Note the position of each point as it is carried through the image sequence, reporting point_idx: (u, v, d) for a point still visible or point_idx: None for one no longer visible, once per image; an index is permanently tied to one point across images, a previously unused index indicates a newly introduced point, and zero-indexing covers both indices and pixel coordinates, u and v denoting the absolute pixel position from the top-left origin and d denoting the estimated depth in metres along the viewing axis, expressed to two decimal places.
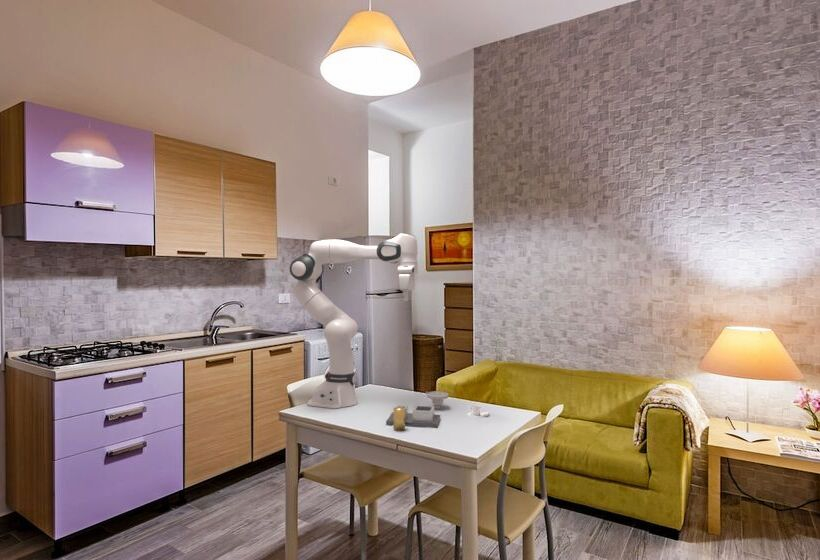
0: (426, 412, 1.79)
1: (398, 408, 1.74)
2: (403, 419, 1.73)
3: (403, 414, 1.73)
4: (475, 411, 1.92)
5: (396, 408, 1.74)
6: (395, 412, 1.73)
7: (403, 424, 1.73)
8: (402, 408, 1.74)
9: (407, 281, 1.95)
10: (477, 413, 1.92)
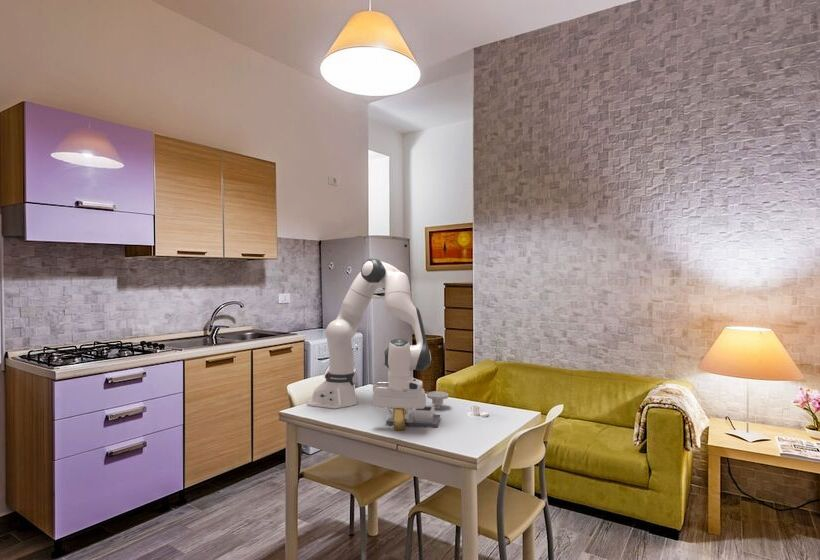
0: (426, 412, 1.79)
1: (398, 408, 1.74)
2: (403, 419, 1.73)
3: (403, 414, 1.73)
4: (475, 411, 1.92)
5: (396, 408, 1.74)
6: (395, 412, 1.73)
7: (403, 424, 1.73)
8: (402, 408, 1.74)
9: (425, 396, 1.74)
10: (477, 413, 1.92)
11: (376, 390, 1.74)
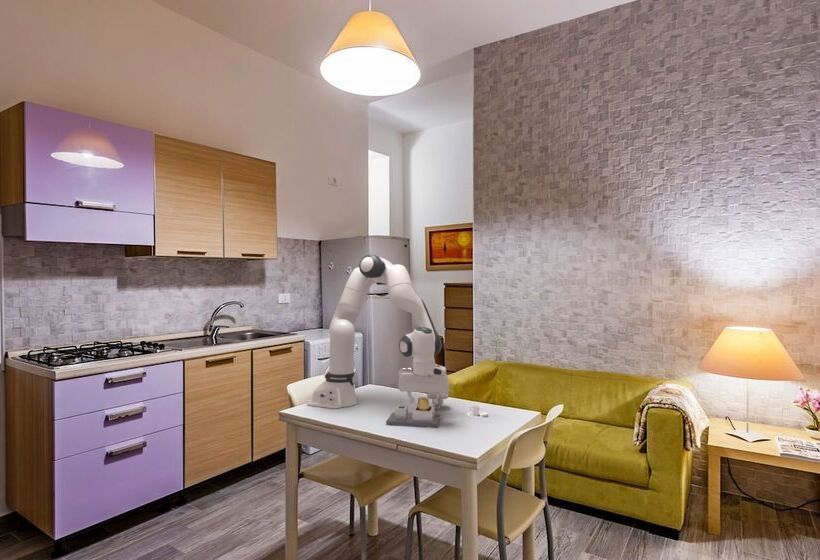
0: (426, 412, 1.79)
1: (423, 398, 1.82)
2: (427, 409, 1.82)
3: (428, 403, 1.82)
4: (474, 411, 1.92)
5: (420, 398, 1.83)
6: (420, 402, 1.81)
7: None
8: (426, 398, 1.83)
9: (448, 382, 1.83)
10: (476, 413, 1.92)
11: (402, 376, 1.83)
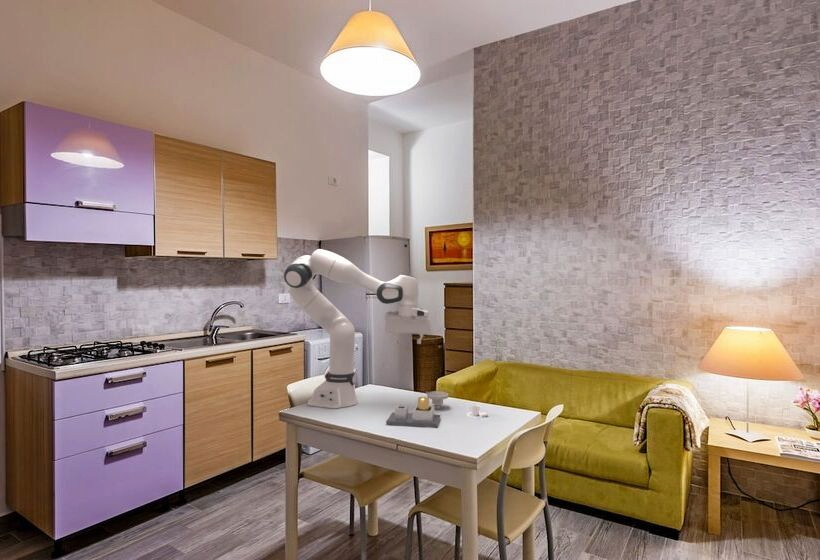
0: (426, 412, 1.79)
1: (423, 398, 1.82)
2: (428, 409, 1.82)
3: (428, 403, 1.82)
4: (474, 411, 1.92)
5: (420, 398, 1.83)
6: (420, 402, 1.81)
7: None
8: (426, 398, 1.83)
9: None
10: (476, 413, 1.92)
11: (388, 318, 1.99)
